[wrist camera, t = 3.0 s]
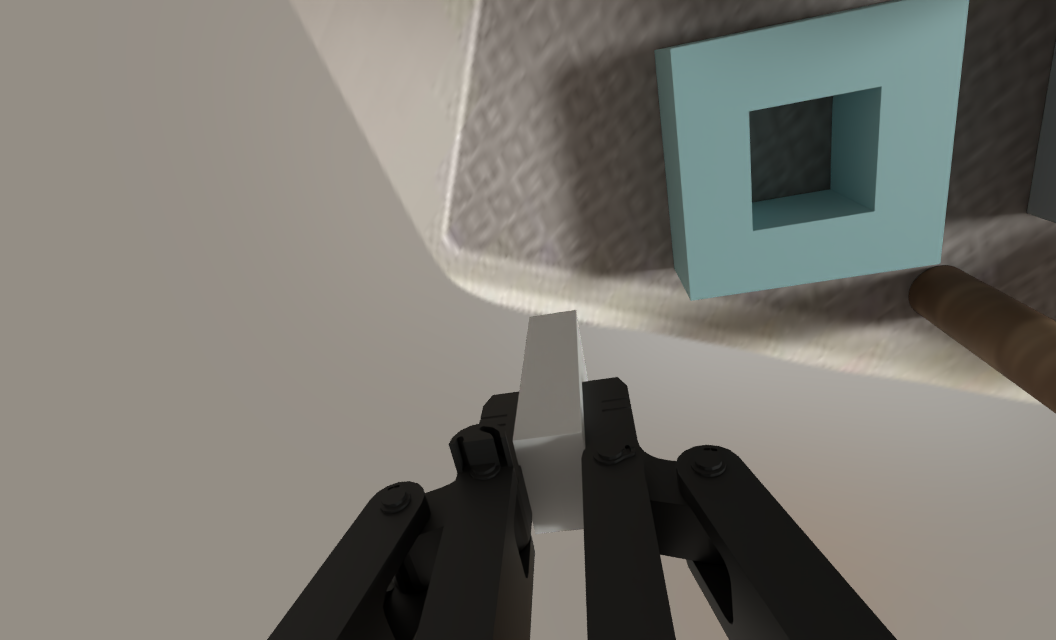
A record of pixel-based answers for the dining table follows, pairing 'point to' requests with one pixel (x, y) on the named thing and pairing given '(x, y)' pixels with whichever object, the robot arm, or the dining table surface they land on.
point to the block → (856, 150)
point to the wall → (1046, 158)
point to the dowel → (991, 327)
